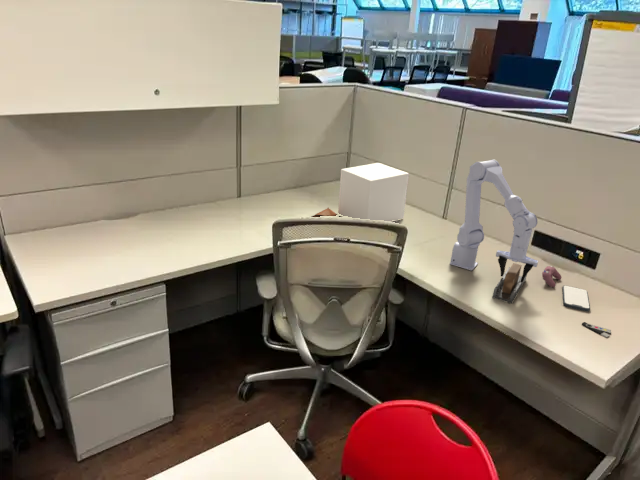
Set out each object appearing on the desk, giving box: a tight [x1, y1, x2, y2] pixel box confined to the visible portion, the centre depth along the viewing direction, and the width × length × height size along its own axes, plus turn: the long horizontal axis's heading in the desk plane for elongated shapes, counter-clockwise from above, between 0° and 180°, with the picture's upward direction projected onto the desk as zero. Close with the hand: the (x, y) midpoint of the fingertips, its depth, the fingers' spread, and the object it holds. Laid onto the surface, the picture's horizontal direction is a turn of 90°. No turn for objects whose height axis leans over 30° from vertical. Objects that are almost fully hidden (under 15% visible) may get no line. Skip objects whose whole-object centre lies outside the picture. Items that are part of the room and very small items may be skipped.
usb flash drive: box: [581, 321, 612, 339], centre depth 162 cm, size 9×5×1 cm, turn 33°
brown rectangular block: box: [502, 262, 523, 294], centre depth 183 cm, size 3×12×7 cm, turn 147°
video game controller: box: [541, 265, 562, 288], centre depth 191 cm, size 10×5×7 cm, turn 141°
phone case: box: [561, 285, 591, 313], centre depth 180 cm, size 9×2×16 cm
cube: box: [337, 162, 410, 221], centre depth 241 cm, size 25×21×24 cm
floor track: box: [492, 266, 528, 304], centre depth 184 cm, size 7×22×4 cm, turn 147°
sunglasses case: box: [310, 207, 338, 217], centre depth 240 cm, size 18×7×7 cm
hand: (511, 278), depth 183 cm, fingers open, 7 cm apart
